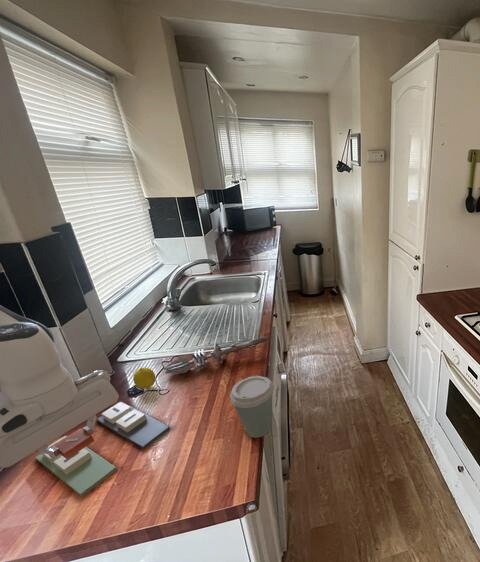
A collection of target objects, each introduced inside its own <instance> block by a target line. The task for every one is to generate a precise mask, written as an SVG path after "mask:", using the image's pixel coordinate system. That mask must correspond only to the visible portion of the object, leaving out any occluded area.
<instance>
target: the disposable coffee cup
mask: <svg viewBox="0 0 480 562" xmlns="http://www.w3.org/2000/svg"><path fill="white" fill-rule="evenodd" d="M274 388H275V385H274V383H273V381H272V380H271V379H270V378H269V377H267V376H262V375H253V376H248V377H246V378H244V379H241V380H239V381H238V382H237V383H235V385H233V386H232V389H231V391H230V395H229V400H230V402H231V403H232V406H234V409H235V411H236V414H237V415H238V417H239V419H240V422H241V424H242V427H243V428H244V430H245V432H246V434H247V435H248V436H249V437H250V438H253V439H257V438H262V437H263V436H265V435H267V434H268V433H269V432H270V430H271V429H272V427H273V397H274V396H273V394H274Z"/></svg>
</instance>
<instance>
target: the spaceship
mask: <svg viewBox="0 0 480 562" xmlns="http://www.w3.org/2000/svg"><path fill="white" fill-rule="evenodd" d="M269 339H270V337H269V336H261V337H258V338H255V339H252V340H247V341H243V342H240V343H236V344H235V343H233V344H230V346H226V347H224V348H223V349H222V348H221V347H220V345H219V344H218V343H217V342H215V343H214V345H213V350H212V351H210V354H208V355H207V354H206V351H204V348H201V351H200V349H198V350H195V351H193V355H192V360H189V358H188V357H184V356H183V357H182V356H180V357H178V358H176V359H174V360H173V361H172V362H170V363H168V364H167V365H166V366H164V367H163V371H164V372H165V374H167V375H168V374H171V375H173V374H185V373H187V372H188V371H189V370H190V369H191V368H192V366H191V365H193V364H194V368H197V371H200V370H202V369H206V368H207V367H208V366H207V364H209V362H208V359H212V360H215V359H216V361H217V363H219V365H223V364H224V363H223V362H224V355H230V354H232V353H234V354H236V353H239V351H242V350H243V349H247V348H250V347H253V346H256V345H259V344H262V343H265V342H267V341H268V340H269Z"/></svg>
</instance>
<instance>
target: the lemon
mask: <svg viewBox="0 0 480 562" xmlns="http://www.w3.org/2000/svg"><path fill="white" fill-rule="evenodd" d="M132 379H133V383H134V385H135V386H136V387H137V388H138V389H141V390H145V389H147V390H148V389H150V388H151V387H153V385H154V384H155V383H156V373H155V372H154V370H153V369H151V368H149V367H146V366H145V367H140V368H138V369H137V370H136V371H135V372H134V374H133V377H132Z"/></svg>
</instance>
